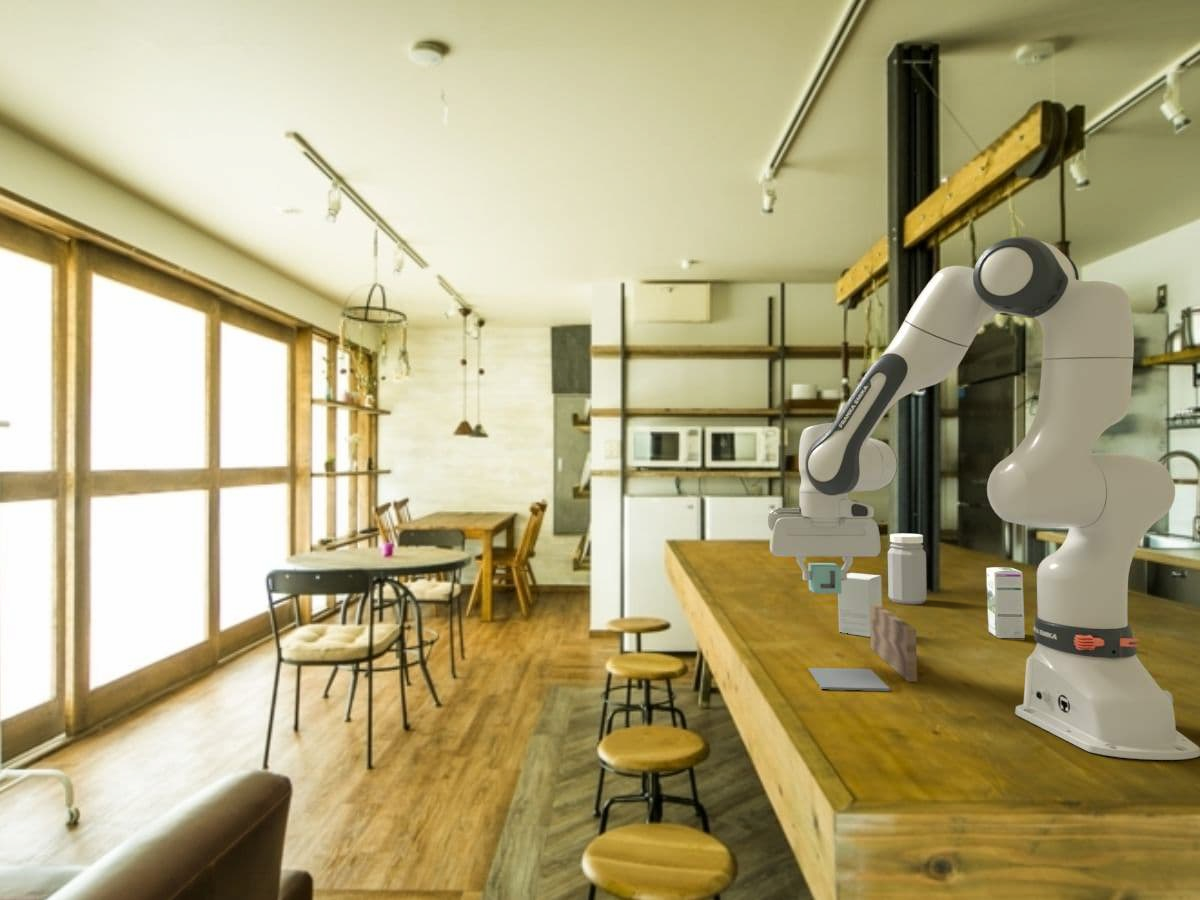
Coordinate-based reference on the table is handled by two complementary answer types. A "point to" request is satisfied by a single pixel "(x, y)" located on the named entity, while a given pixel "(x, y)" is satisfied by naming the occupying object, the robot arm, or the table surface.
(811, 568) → the letter block
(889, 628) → the walnut screen
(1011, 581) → the syrup box
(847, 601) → the supplement box
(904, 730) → the table surface
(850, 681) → the slate pad
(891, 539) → the jar
